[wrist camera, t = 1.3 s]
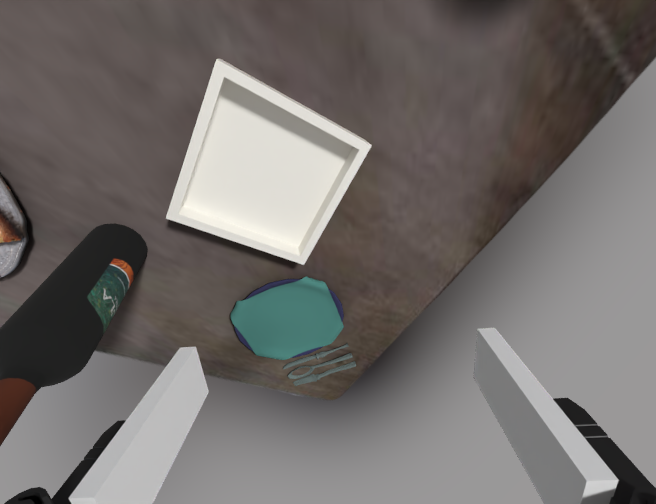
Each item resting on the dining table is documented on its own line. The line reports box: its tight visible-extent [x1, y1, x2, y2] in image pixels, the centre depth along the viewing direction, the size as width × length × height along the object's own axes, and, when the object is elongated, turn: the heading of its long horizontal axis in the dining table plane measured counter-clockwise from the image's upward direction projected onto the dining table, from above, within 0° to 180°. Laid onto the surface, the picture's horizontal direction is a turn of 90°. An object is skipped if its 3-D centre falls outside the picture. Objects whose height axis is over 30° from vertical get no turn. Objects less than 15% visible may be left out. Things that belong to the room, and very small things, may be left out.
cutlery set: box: [231, 277, 356, 386], centre depth 61 cm, size 20×30×2 cm, turn 17°
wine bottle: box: [0, 224, 147, 446], centre depth 33 cm, size 8×8×30 cm
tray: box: [166, 59, 372, 265], centre depth 42 cm, size 20×20×4 cm
